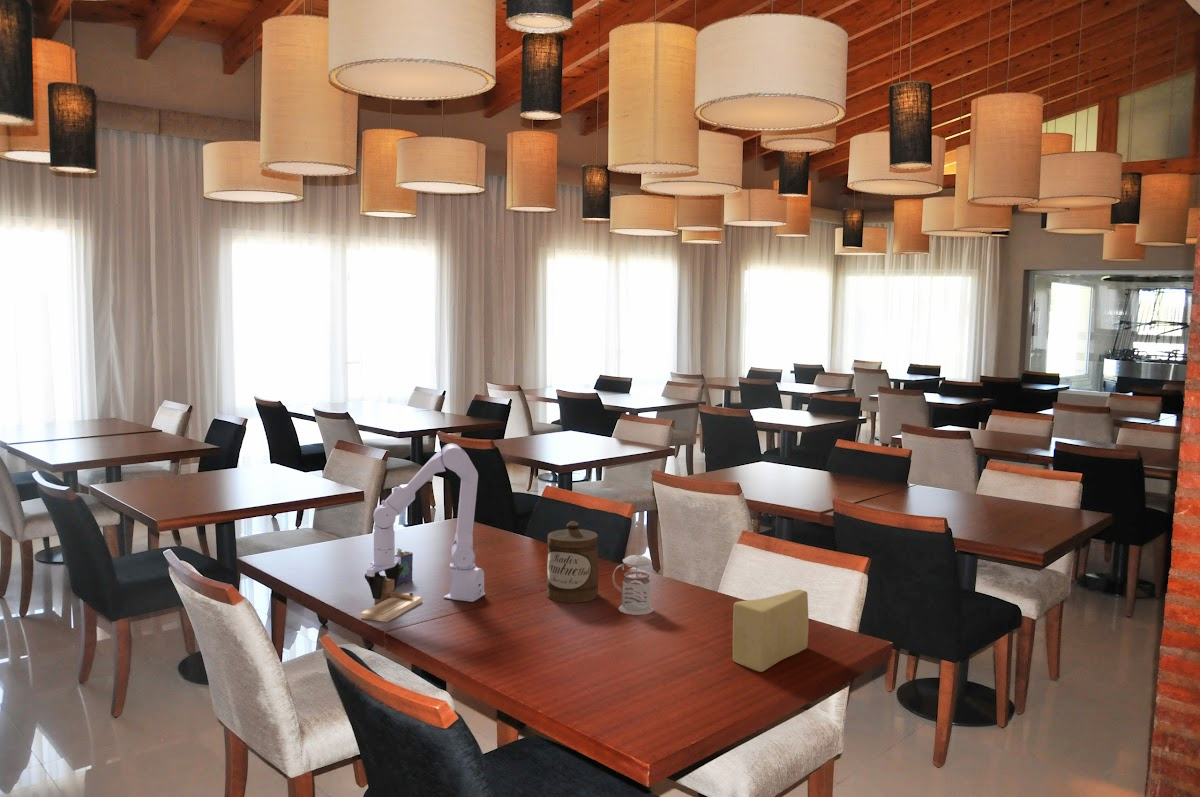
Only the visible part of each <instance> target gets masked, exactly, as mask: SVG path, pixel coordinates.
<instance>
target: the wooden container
mask: <svg viewBox="0 0 1200 797" xmlns="http://www.w3.org/2000/svg"><path fill="white" fill-rule="evenodd" d="M579 526H580V525H579V523H578V522H577V521H575V520H570V521H569V522H568V523H567V524H566V527H567V528H566V529H557V530H554V531H551V532H549V533H547V563H546V564H547V566H546V568H547V571H546V582H547V583H546V596H547V597H548V599H550V600H552V601H554V600H555V602H559V603H564V602H565V604H579V603H586V602H590V601H593V600H595V599H596V598H597V597H598V595H599V553H598V552H599V551H598V549H599V548H598V543H599V539H598V533H596V532H595V531H592V530H587V529H583V528H581V529H580V528H579Z"/></svg>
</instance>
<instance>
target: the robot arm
mask: <svg viewBox="0 0 1200 797" xmlns="http://www.w3.org/2000/svg"><path fill="white" fill-rule="evenodd" d="M446 469H448V470H450V471H452V472H454V473H455V474H456V475H457V476H458V477H459V478H460V488H459V498H458V500H459V501H458V509H457V520H456V521H457V522H456V529H455V530H456V531H455V534H454V539H453V543H452V544H451V546H450V547H449V548H450V549H449V553H450V556H451V558H452V561H451V562H450V563H449V593H448V594H446V595H444V596H443V598H444V599H448V600H455V601H464V602H469V603H470V602H471V603H473V602H475V601H478V600H479V599H480V598H481V597H483V596H485V595H486V592H485V571H484V570H483V569H484V568H483V569H482V568H480V567H478V566H476V563H475V560H476V554H475V551H474V550H473V548H474V546H473V545H474V542H473V541H474V539H473V538H474V537H473V533H474V524H475V523H474V522H475V513H476V512H475V511H476V502H477V493H478V481H479V473H478V470H477V469H476V467H475V465H474V464H473V461H472V460H471V459H470V457H469V455H468V454H467V452H466V451H465V450H464V449H463V448H462V447H461V446H460V445H458V444H456V443H454V442H453V443H447V444H445V445H444V446H443V447H442V448H441V450H438V451H437V452H436V453H434V455H433V456H431V457H430V459H429V460H428V461H427V462H426V463H425V464H424V465H423V466H422V467H421V468H420V469H419V471H417V473H416V474H415V475H414V476H413V477H412V478H411V479H410V480H409V481H408V482H407V484H405V483H404V484H399V485H398V486H395V487H393V488H392V493H390V494H389V496H388V497H387V498H386V499H383V500H382V501H381V502H380V503H381V504H380V505H378V506H376V507H375V509H374V510H373V514H372V517H373V522H374V525H373V529H374V531H373V561H371V562H370V566H369V567H368V568H367V569H366V573H364V579H365V580H366V582H367V584H368V586H369V589H370V593H371V595H372V596H371V597H372V598H373V599H381V594H382V585H383V582H384V579H385V577H387V578H389V579H394V592H396V590H397V587H398V586H397V582H398V579H399V576H400V574H401V572H402V570H403V566H401V565H399V564H401V557H395V555H396V554H395V552H396V550H395V534H396V532H395V530H394V525H395V522H396V517H397V516H400V515H401V514H402V513H403V512H404V511H405V510H406V509H407V508H408V507H410V505H411V503H413V501H415V500H416V492H417V491H418V490H419V489H420V488H421V487H423V485H424V484H426V483H427V482H428V481H429V480H430V479H431V478H432V477H433V476H434V475H435V474H438V473H443V472H444V473H445V472H446ZM382 572H384V574H385V575H381V573H382ZM396 586H397V587H396Z"/></svg>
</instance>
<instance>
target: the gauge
mask: <svg viewBox="0 0 1200 797" xmlns="http://www.w3.org/2000/svg"><path fill="white" fill-rule="evenodd" d="M414 596H415V595H414V593H413V591H412V592H409V593H408V592H405V593H404V592H398V591H395V592H394V579H389V578H387V577H385V579H384V582H383V585H382V594H381V599H374V603H377V604H379V603H381V602H383V601H384V600H386V599H388V598H390V597H399V598H407V599H412V598H414Z"/></svg>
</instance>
